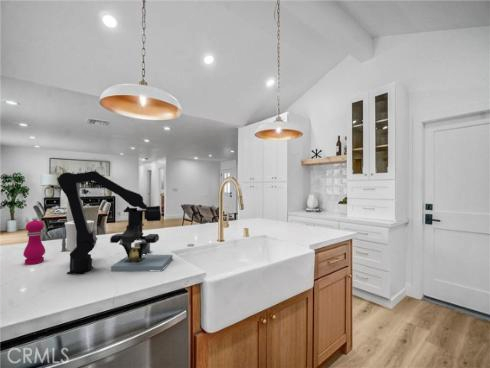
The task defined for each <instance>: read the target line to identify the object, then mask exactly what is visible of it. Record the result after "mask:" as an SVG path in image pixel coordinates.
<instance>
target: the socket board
mask: <svg viewBox="0 0 490 368" xmlns="http://www.w3.org/2000/svg"><path fill="white" fill-rule="evenodd" d="M173 256H174V254H145V255H142V257H141V258H140V262H139V263H129V258H128V256H125V257H124V258H121V259H120V260H119V261H117V262H116V263H114V264H112V265H111V266H110V267H111V268H110V269H111V270H110V272H151V271H150V270H162V271H164V269H165V268H166V267H167V266H168V265H169V264H168V263H171V261H172V260H173V259H172V258H173ZM171 259H172V260H171ZM170 260H171V261H170ZM167 264H168V265H167ZM166 265H167V266H166ZM165 266H166V267H165ZM164 267H165V268H164ZM163 268H164V269H163Z"/></svg>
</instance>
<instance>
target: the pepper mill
mask: <svg viewBox="0 0 490 368" xmlns="http://www.w3.org/2000/svg"><path fill="white" fill-rule="evenodd" d="M38 219H39V218H38V217H37V216H34V217H32V220H30V221H29V222H27V223H26V225H25V229H26V231H27V237H28V240H27V241H28V242H27V245H26V247H25V248H24V250H23V257H24V258H26V259H24V264H25V265H29V266H30V265H38V264H40V263H44V261H45V260H44V259H45V258H44V255H45V254H46V248H45V246H44V244H43V242H42V235H43V229H44V227H45V224H44V222H42V221H41V220H38Z"/></svg>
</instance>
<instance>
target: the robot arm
mask: <svg viewBox="0 0 490 368" xmlns="http://www.w3.org/2000/svg"><path fill="white" fill-rule="evenodd" d="M88 182H94V183H96V184H98V185H100V186H101V187H102V188H105V189H106V190H109V191H111V192H112V193H114V194H115V195H117V196H119V197H120V198H122V199H123V200H124V201H125V202H126V203H128V204H129V205H130V206H131V207H130V206H126V208H125V209H123V213H127V217H128V218H127V221H128V222H127V225H126V227H125V228H126V230H125V231H124V232H122V233H116V234H114V235H111V236H110V239H109V241H110V242H109V243H110V244H117V243H118V245H120V246H122V247H123V249H124V250H125V252H126V255H127V256H128V258H129V248H131V247H132V244H133V243H135V242H136V241H140V242H141V243H140V244H139V245H140V253H139V258H141V257H142V255H143V253H144V250H145V248H146V246H147V244H148V243H150V244H154V243H155V244H156V243H157V242H158V241H159V239H160V236H159V234H158V233H149V234H148V235H144V232H143V231H144V230H143V226H145V225H144V222H143V219H144V220H146V222H148V223H149V222H161V220H162V213H161V206H160V205H153V206H147V204H145V203H144V197H143V196H142V195H141V194H140V193H138V192H135V191H132V190H130V189H126V188H125V187H123V186H121V185H120V184H118V183H116V182H114V181H112V180H111V179H109V178H107V176H104V175H102V174H100V173H99V172H98V171H96V170H91V171H87V172H80V173H79V172H78V173H72V172H62V173H61V174H60V175H59V176H58V177H57V183H58V185H59V186H60V189H61V190H62V192H63V193H64V195H65V197H66V198H67V201H68V202H69V206H70V209H71V213H72V216H73V220H74V224H75V227H76V231H77V235H76V244H77V247H76V248H75V249H74V250H73V251H72V252H71V253H69V271H66V274H68V275H74V274H75V275H77V274H78V275H81V274H86V273H88V272H89V271H91V270H92V269H94V267H93V258H92V254H90V252H92V251H93V249H94V248H95V247H96V244H97V241H98V237H97V235H96V229H95V230H94V229H93V230H92V231H91V230H90V229H89V227H88V224H87V217H86V214H85V209H84V205H83V206H82V201H81V200H82V199H81V194H80V190H81V185H80V184H83V183H88ZM138 208H140V209H138ZM127 256H126V257H127Z"/></svg>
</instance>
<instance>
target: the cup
mask: <svg viewBox="0 0 490 368" xmlns="http://www.w3.org/2000/svg"><path fill="white" fill-rule="evenodd" d="M86 220H87V219H86ZM94 223H95V221H94V220H87V224H88V227H89V229H90V230H91V231H94V229H93V228H94ZM64 227H65V228H64V229H65V234H66V237H67V236H68V243H69V248H70V251H69V252H70V253H71V252H72V251H73V250H74V249H75V248H76V247H77V244H76V235H77V231H76V227H75V224H74V221H71V222H67V221H66V222H64ZM70 253H69V254H70Z"/></svg>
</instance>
